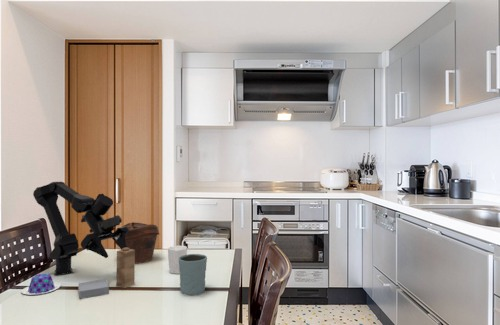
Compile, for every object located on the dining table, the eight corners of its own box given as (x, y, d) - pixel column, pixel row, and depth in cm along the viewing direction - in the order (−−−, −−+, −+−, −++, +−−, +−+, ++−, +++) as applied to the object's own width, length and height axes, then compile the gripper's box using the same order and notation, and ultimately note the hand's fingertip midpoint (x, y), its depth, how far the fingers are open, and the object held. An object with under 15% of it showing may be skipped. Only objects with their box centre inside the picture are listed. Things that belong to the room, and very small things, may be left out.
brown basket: (128, 253, 166) (128, 218, 166) (165, 255, 164) (165, 219, 164) (108, 264, 149) (108, 225, 149) (149, 266, 146) (150, 226, 146)
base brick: (78, 290, 117) (78, 283, 117) (105, 285, 122) (105, 278, 122) (79, 298, 109) (79, 291, 109) (108, 293, 114) (108, 286, 114)
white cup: (182, 274, 134) (182, 250, 135) (164, 273, 136) (164, 249, 136) (189, 269, 142) (189, 246, 142) (172, 267, 144) (172, 245, 144)
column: (116, 286, 121) (116, 248, 122) (125, 282, 125) (126, 246, 126) (125, 288, 119) (125, 250, 120) (134, 284, 123) (134, 247, 124)
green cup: (182, 298, 110) (182, 262, 111) (175, 288, 119) (175, 255, 120) (210, 293, 115) (211, 258, 115) (201, 283, 124) (201, 252, 124)
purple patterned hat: (31, 299, 110) (31, 283, 110) (14, 292, 116) (15, 277, 116) (67, 288, 120) (67, 274, 120) (50, 282, 126) (50, 268, 126)
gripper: (86, 212, 118) (108, 246, 114) (125, 206, 135) (146, 235, 131) (71, 232, 122) (92, 265, 117) (111, 224, 139) (131, 253, 134)
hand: (117, 254), depth 124 cm, fingers open, 9 cm apart
